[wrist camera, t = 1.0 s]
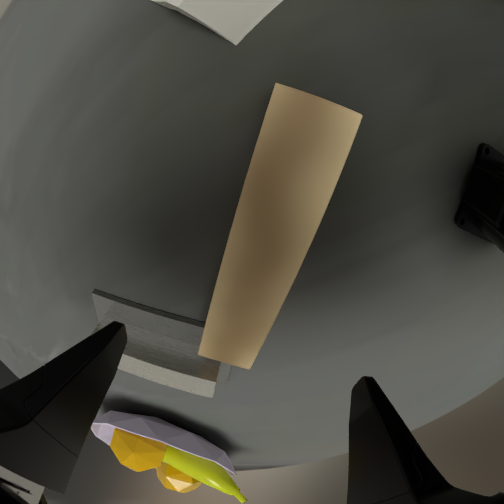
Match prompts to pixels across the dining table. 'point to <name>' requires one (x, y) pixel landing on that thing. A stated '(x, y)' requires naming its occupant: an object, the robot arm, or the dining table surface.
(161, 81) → the dining table surface
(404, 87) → the dining table surface
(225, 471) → the fruit bowl
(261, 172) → the oak batten
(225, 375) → the fulcrum stand
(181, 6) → the crown molding
